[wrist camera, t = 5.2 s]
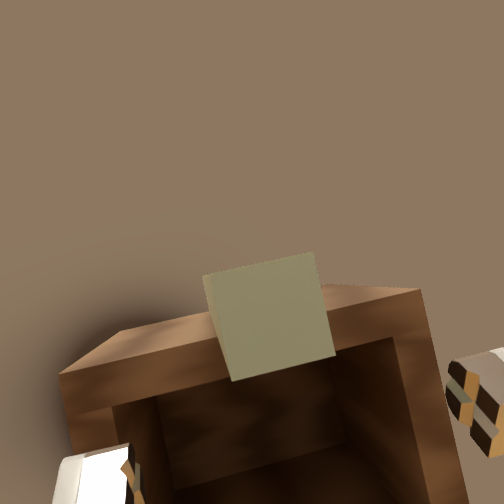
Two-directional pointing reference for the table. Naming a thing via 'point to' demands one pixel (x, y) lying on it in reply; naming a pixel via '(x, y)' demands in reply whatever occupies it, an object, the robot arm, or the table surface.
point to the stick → (269, 315)
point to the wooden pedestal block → (277, 411)
